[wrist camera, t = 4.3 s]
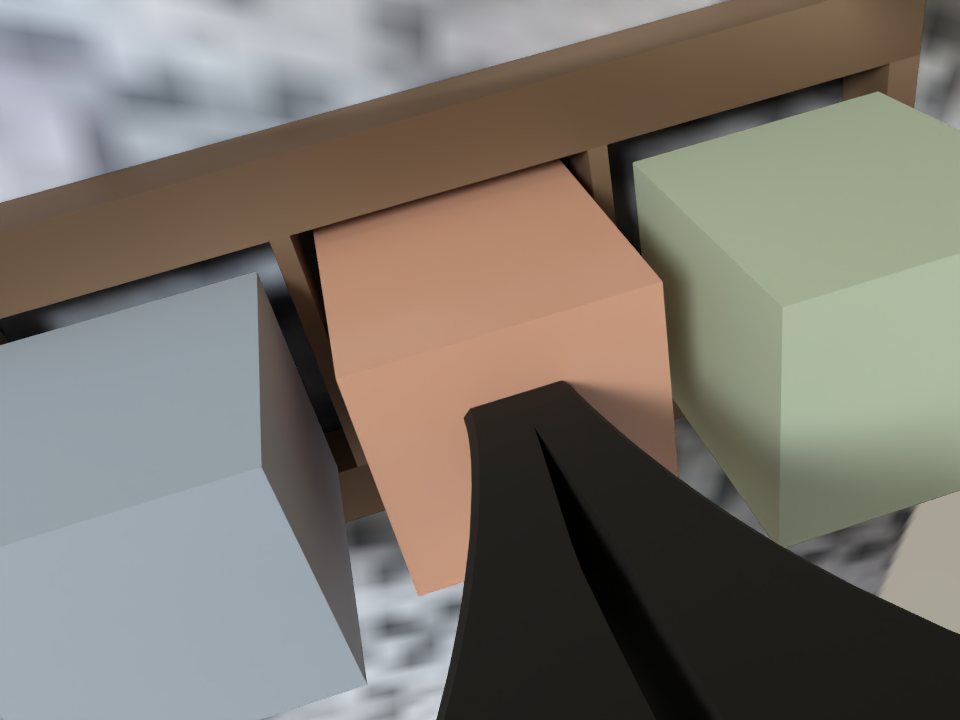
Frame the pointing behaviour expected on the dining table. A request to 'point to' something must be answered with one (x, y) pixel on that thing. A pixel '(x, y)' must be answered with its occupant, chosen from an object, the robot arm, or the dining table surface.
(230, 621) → the light grey cube
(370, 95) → the dining table surface
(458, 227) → the salmon orange cube
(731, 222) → the sage button
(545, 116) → the walnut board
